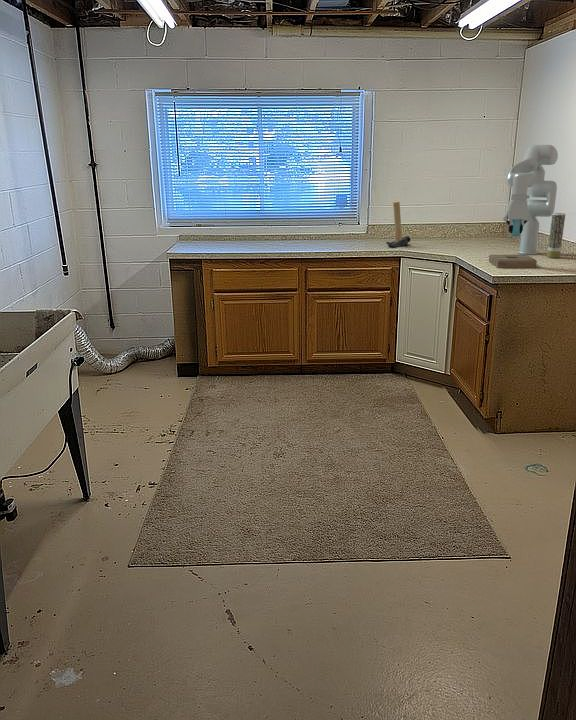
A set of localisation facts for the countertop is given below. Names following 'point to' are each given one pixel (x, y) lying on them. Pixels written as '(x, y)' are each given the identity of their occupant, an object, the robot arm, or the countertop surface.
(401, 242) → the hammer
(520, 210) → the robot arm
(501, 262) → the socket block
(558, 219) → the bark patterned cylinder
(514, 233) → the dowel peg
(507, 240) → the countertop surface
